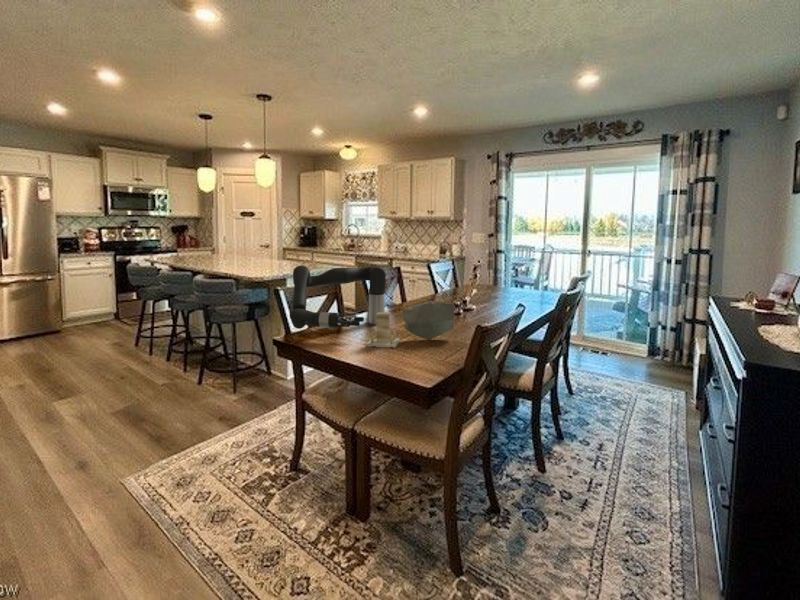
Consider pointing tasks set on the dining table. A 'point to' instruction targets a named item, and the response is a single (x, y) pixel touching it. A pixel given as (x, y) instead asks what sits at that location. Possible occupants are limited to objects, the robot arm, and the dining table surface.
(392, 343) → the peg board
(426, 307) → the rock
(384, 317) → the tan wooden block
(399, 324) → the dining table surface
